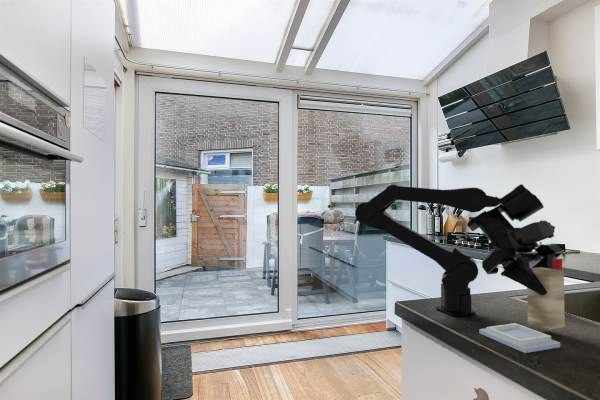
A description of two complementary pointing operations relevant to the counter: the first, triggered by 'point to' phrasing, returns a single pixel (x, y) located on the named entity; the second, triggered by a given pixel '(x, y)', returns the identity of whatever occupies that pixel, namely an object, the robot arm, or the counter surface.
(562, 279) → the birch pillar
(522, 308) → the counter surface
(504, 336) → the board
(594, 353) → the counter surface
